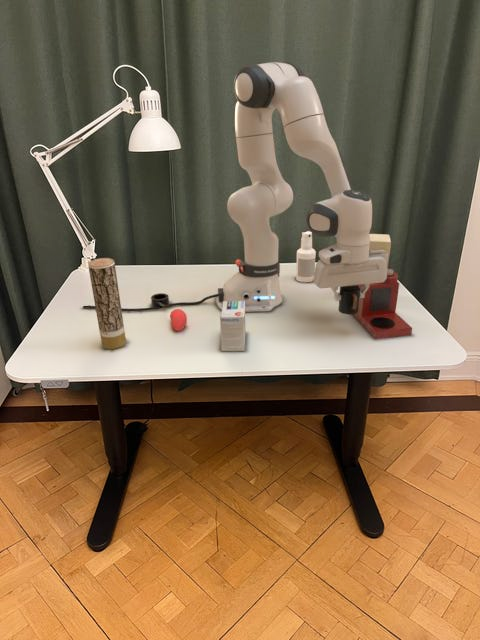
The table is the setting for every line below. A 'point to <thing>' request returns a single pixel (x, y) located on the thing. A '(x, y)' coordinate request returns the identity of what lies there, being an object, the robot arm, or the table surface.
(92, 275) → the paper tube
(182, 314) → the red bean-shaped piece
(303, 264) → the spray bottle
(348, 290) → the kettle
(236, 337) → the light bulb box
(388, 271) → the power button
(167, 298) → the duct tape
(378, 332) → the warming base
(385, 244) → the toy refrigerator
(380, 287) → the coffee maker
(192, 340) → the table surface
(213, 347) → the table surface
